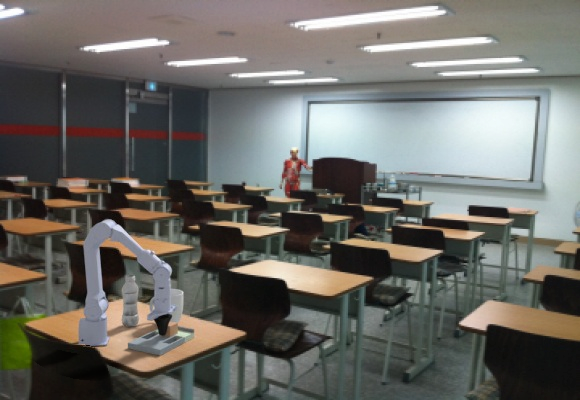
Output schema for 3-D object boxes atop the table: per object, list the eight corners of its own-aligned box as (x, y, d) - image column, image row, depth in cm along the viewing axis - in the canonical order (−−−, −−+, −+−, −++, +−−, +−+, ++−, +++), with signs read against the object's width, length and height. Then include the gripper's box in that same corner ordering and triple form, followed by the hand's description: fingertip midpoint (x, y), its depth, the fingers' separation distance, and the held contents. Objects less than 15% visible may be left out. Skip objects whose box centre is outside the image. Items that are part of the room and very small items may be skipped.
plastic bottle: (141, 323, 214) (141, 274, 212) (134, 329, 207) (135, 278, 205) (125, 322, 214) (125, 273, 212) (118, 328, 208) (118, 277, 206)
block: (170, 337, 194) (170, 326, 193) (160, 335, 196) (160, 324, 195) (177, 333, 198) (177, 322, 198) (167, 331, 200) (167, 321, 199)
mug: (141, 324, 213) (141, 292, 211) (158, 317, 223) (159, 286, 221) (172, 330, 207) (172, 297, 205) (188, 322, 217) (189, 291, 215)
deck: (160, 355, 182) (160, 346, 181) (127, 348, 187) (127, 339, 187) (194, 337, 200) (194, 329, 200) (163, 331, 205) (163, 323, 205)
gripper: (158, 304, 184) (158, 342, 185) (183, 294, 197) (183, 330, 198) (142, 301, 187) (142, 339, 188) (168, 292, 200) (167, 327, 201)
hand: (162, 334), depth 193 cm, fingers closed
